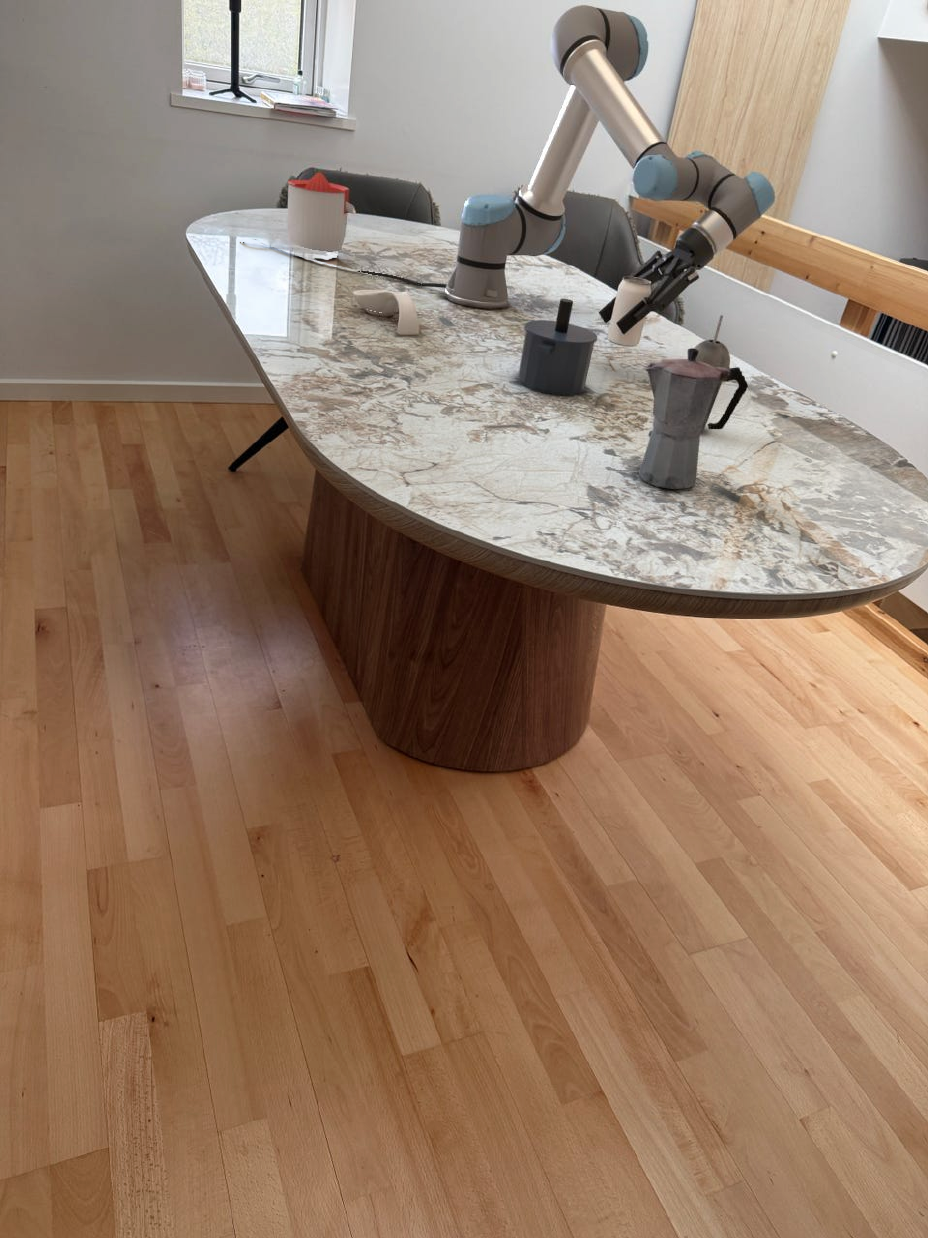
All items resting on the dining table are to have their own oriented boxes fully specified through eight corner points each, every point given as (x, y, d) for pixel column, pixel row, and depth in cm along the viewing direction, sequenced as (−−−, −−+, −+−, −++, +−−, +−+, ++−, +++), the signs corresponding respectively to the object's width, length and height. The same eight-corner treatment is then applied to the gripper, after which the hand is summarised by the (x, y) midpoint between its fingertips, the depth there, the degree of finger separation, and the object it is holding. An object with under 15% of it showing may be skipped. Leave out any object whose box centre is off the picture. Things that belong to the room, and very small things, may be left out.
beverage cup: (713, 427, 167) (745, 314, 157) (708, 439, 161) (742, 323, 151) (673, 417, 169) (703, 305, 158) (667, 429, 163) (698, 313, 152)
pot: (503, 386, 170) (511, 334, 165) (535, 365, 185) (544, 317, 180) (567, 404, 167) (578, 351, 162) (595, 381, 181) (606, 332, 176)
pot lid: (512, 335, 168) (518, 297, 164) (537, 321, 179) (544, 286, 175) (583, 353, 164) (591, 315, 160) (604, 338, 175) (612, 302, 171)
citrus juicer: (348, 267, 236) (354, 181, 226) (279, 257, 235) (282, 170, 225) (355, 255, 250) (361, 174, 239) (290, 245, 248) (293, 163, 238)
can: (637, 349, 182) (653, 286, 176) (605, 342, 183) (619, 280, 176) (639, 341, 187) (654, 280, 181) (607, 334, 188) (621, 273, 182)
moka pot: (613, 461, 146) (643, 334, 135) (706, 471, 148) (743, 346, 137) (627, 487, 137) (660, 353, 127) (725, 496, 140) (766, 366, 129)
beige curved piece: (344, 303, 205) (346, 270, 201) (393, 305, 210) (397, 272, 206) (383, 336, 187) (386, 299, 184) (435, 336, 192) (440, 301, 189)
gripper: (739, 269, 174) (644, 352, 177) (683, 245, 189) (596, 322, 192) (724, 237, 170) (627, 323, 172) (668, 215, 184) (579, 295, 187)
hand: (611, 323), depth 182 cm, fingers closed on can, 6 cm apart
